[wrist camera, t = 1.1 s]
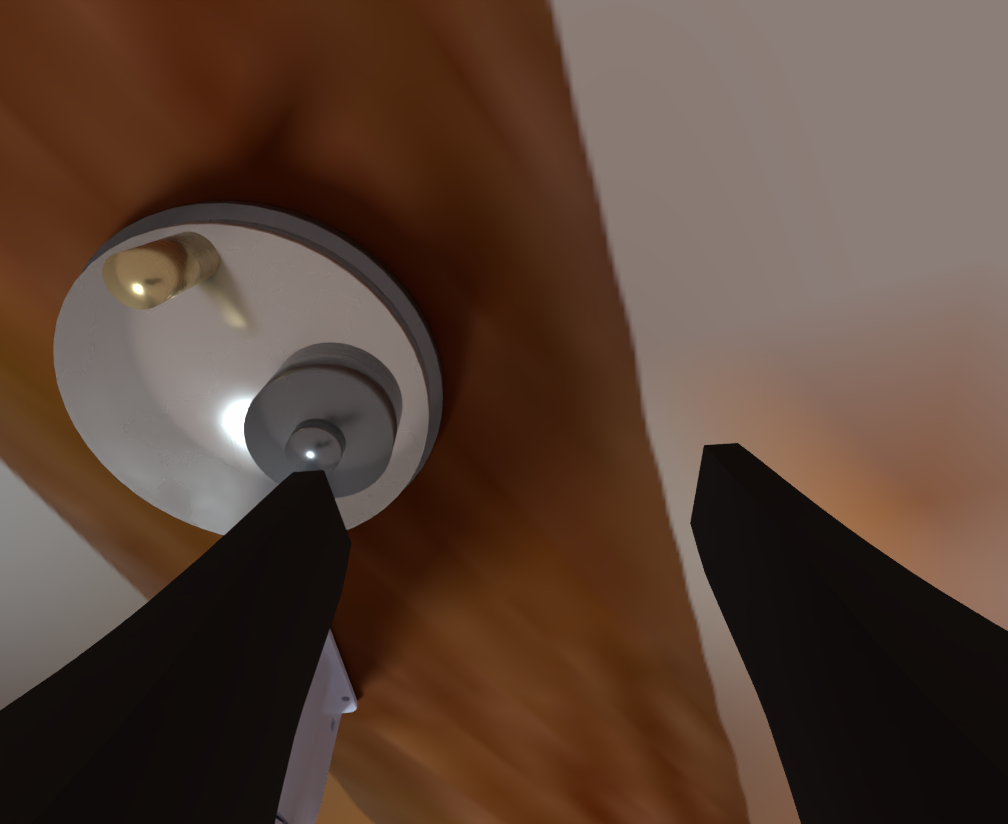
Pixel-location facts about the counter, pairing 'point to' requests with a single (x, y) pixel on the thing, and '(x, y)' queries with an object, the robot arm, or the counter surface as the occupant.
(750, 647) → the robot arm
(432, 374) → the turntable base
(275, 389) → the lid
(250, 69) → the counter surface
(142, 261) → the turntable
